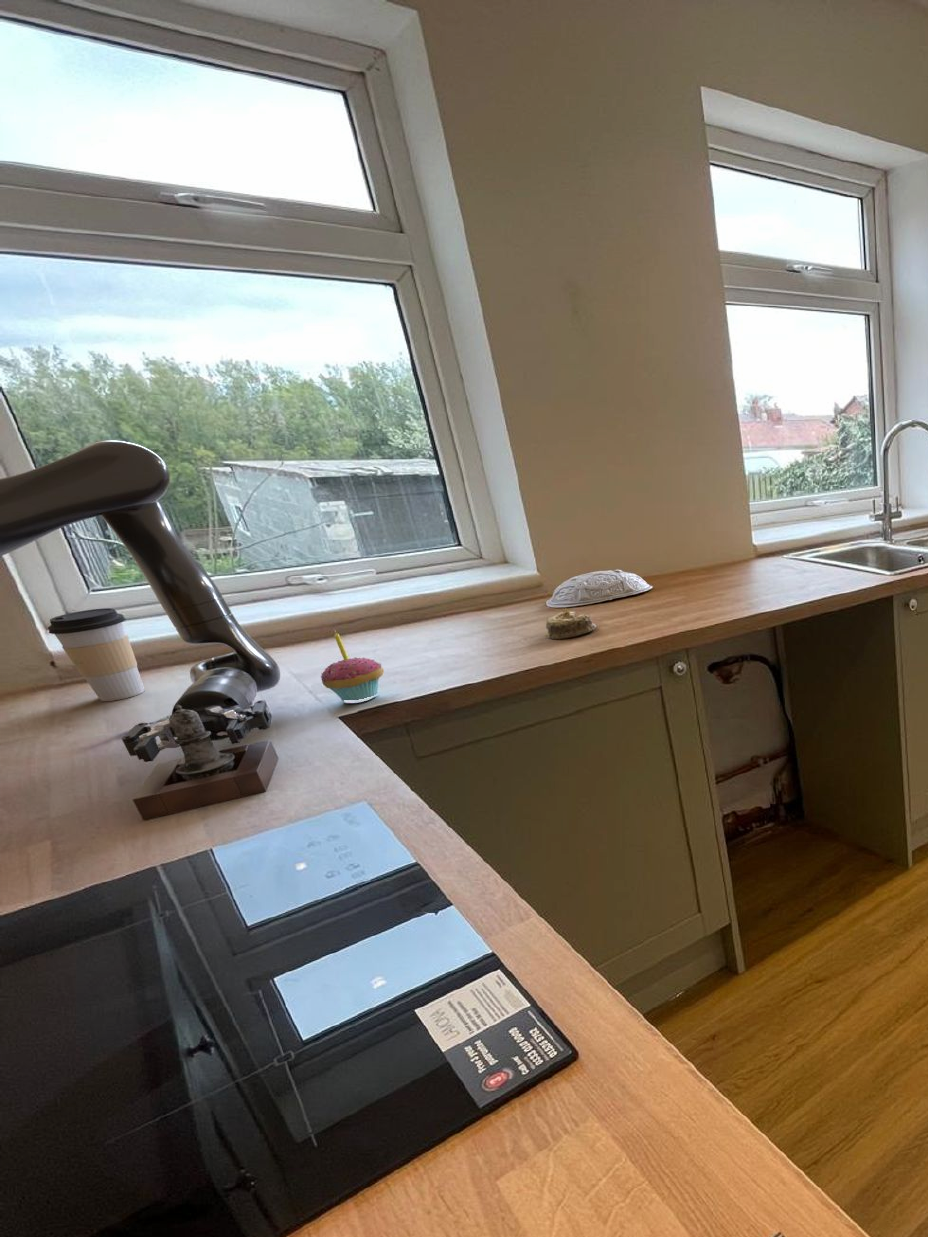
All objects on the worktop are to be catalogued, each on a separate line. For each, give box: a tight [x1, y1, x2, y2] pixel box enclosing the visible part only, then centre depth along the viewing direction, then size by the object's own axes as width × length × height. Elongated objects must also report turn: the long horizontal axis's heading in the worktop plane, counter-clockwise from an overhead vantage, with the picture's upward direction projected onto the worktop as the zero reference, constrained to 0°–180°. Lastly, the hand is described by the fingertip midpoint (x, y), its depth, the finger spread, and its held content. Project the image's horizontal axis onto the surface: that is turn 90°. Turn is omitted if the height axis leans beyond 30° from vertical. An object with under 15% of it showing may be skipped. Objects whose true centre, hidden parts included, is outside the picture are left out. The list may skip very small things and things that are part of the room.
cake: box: [545, 607, 597, 640], centre depth 161 cm, size 10×10×5 cm
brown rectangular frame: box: [132, 739, 279, 821], centre depth 102 cm, size 12×12×3 cm
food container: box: [545, 569, 654, 609], centre depth 189 cm, size 16×25×7 cm, turn 125°
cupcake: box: [320, 629, 385, 701], centre depth 128 cm, size 9×8×12 cm
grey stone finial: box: [168, 704, 235, 781], centre depth 100 cm, size 6×6×12 cm
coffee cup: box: [47, 607, 145, 702], centre depth 135 cm, size 9×9×15 cm
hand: (189, 745), depth 98 cm, fingers open, 8 cm apart
